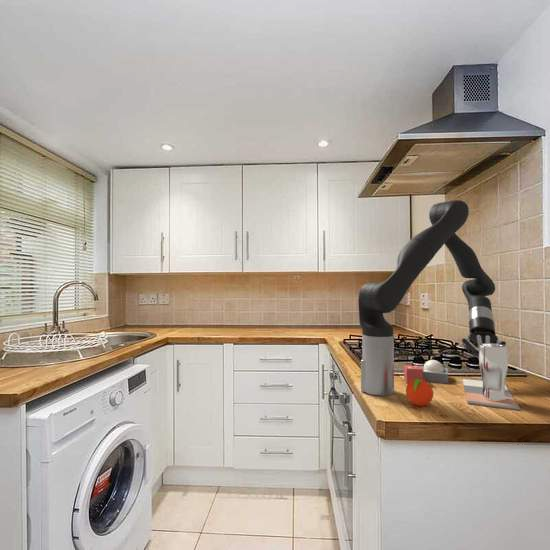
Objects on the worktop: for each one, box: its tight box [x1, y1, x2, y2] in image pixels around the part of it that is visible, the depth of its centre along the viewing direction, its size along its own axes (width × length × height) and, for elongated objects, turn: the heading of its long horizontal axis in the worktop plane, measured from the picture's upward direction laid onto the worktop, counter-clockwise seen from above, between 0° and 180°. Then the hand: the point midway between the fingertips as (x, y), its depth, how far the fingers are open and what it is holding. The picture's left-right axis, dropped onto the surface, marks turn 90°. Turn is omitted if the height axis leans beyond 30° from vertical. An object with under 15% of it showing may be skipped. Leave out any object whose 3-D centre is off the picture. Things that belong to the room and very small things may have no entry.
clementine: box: [405, 379, 434, 407], centre depth 95 cm, size 8×7×7 cm
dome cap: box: [423, 359, 444, 373], centre depth 122 cm, size 6×6×6 cm
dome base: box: [419, 365, 449, 384], centre depth 122 cm, size 9×9×3 cm
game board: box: [462, 377, 521, 411], centre depth 106 cm, size 12×28×1 cm, turn 155°
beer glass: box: [478, 343, 509, 402], centre depth 100 cm, size 7×7×15 cm
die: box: [403, 364, 423, 385], centre depth 117 cm, size 5×5×5 cm
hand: (485, 366), depth 109 cm, fingers closed
